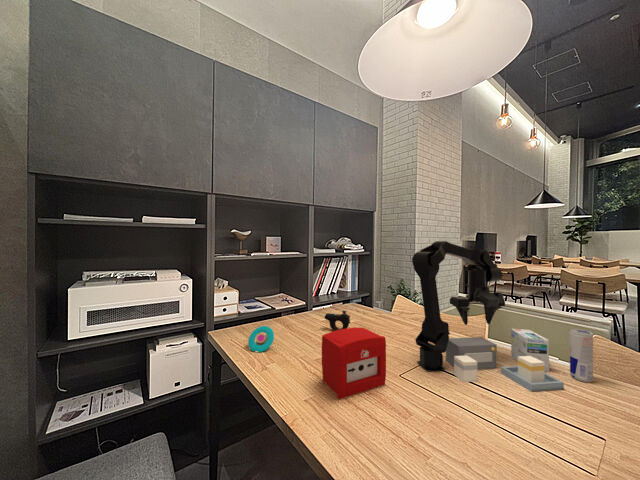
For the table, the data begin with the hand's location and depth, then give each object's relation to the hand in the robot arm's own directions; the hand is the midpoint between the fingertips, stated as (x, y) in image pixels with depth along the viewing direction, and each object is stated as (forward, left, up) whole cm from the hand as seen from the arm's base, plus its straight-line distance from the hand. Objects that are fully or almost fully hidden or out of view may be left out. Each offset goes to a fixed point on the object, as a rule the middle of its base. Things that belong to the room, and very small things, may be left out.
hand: (477, 324), depth 97 cm
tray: (+4, -18, -12) cm, 22 cm away
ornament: (-81, +16, -12) cm, 84 cm away
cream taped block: (+4, -18, -11) cm, 21 cm away
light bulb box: (+14, -8, -12) cm, 20 cm away
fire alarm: (-51, -13, -12) cm, 54 cm away
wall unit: (-7, -6, -12) cm, 15 cm away
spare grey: (-15, -14, -12) cm, 24 cm away
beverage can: (+21, -19, -12) cm, 31 cm away
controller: (-47, +32, -12) cm, 58 cm away
